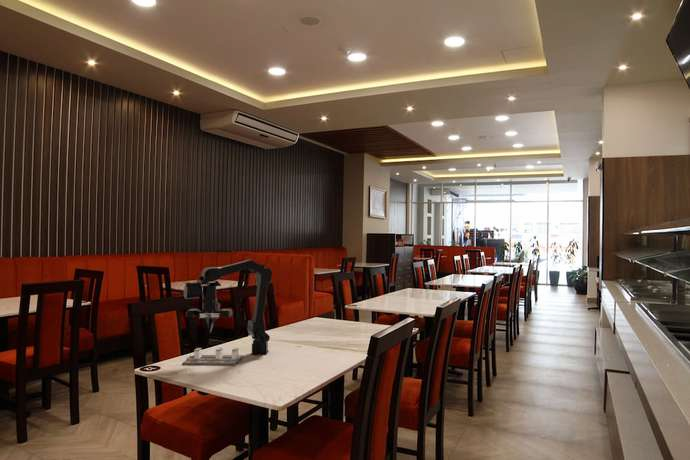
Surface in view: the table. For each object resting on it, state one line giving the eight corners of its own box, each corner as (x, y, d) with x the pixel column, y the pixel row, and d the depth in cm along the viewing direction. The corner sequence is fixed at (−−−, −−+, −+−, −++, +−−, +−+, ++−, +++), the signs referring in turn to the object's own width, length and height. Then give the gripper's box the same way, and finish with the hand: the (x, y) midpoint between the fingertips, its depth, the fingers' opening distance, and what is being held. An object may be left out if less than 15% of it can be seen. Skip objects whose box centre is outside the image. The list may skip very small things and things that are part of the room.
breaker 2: (222, 357, 200) (222, 348, 200) (220, 359, 196) (220, 350, 196) (217, 357, 200) (217, 348, 200) (215, 359, 196) (215, 350, 197)
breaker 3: (238, 357, 199) (238, 348, 199) (236, 359, 196) (236, 350, 196) (233, 357, 199) (233, 348, 199) (231, 359, 196) (231, 350, 196)
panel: (243, 357, 204) (243, 353, 204) (235, 365, 191) (235, 361, 191) (193, 356, 205) (193, 352, 205) (182, 364, 192) (182, 360, 192)
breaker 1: (201, 357, 200) (201, 348, 200) (198, 359, 197) (198, 349, 197) (197, 357, 200) (197, 347, 200) (194, 359, 197) (194, 349, 197)
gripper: (235, 294, 206) (235, 329, 206) (195, 294, 207) (195, 329, 207) (228, 298, 195) (228, 334, 195) (185, 297, 196) (185, 334, 196)
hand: (209, 333), depth 198 cm, fingers closed
